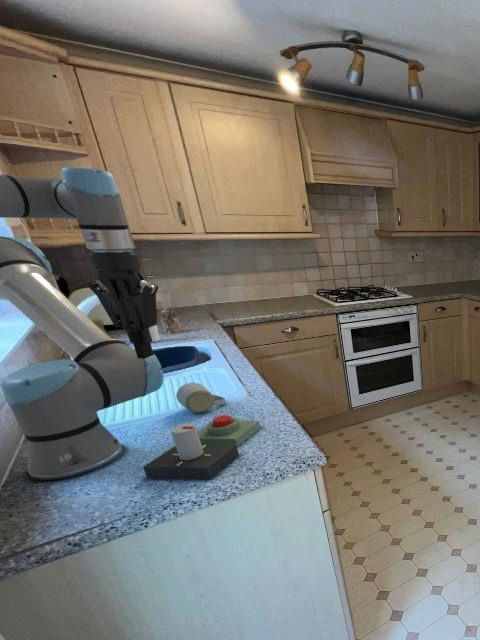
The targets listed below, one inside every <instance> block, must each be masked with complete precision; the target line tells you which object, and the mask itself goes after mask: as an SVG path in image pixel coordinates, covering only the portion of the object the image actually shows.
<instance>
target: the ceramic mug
mask: <svg viewBox="0 0 480 640" xmlns="http://www.w3.org/2000/svg"><path fill="white" fill-rule="evenodd" d="M176 400H177V402H178V403H179V404H180V405H181V406H182V407H184V408H185V409H186V410H187V411H189V412H192V413H195V414H203V413H205V412H207V411H209V410H210V409H212V407H213V406H223V405H225V404H226V398H225V397H223V396H221V395H216V394H212V392H211V391H210V390H209V389H207V387H206V386H204V385H203V384H201V383H199V382H187V383H184V384H182V385H181V386H180V387H179V388H178V389H177V391H176Z"/></svg>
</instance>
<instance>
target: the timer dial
mask: <svg viewBox="0 0 480 640" xmlns="http://www.w3.org/2000/svg"><path fill="white" fill-rule="evenodd" d="M170 433H171V437H172V439H173V442H174V446H176V448H177V451H178V454H179V457H180V459H181V460H191V459H194V458H197V457H199V456H201V455H202V454H203V453H204V451H203V448H202V445H201V442H200V439H199V435H198V428H197V426H196V424H195V423H182V424H180V425H176V426H174V427H173V428H171V429H170Z"/></svg>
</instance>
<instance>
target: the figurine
mask: <svg viewBox="0 0 480 640" xmlns="http://www.w3.org/2000/svg"><path fill="white" fill-rule="evenodd" d="M160 313H161V318H160V320H162V326H163V327H162V328H163V333H164V334H165V335H169V334H170V335H172V334H173V335H175V334H179V333H182V332H183V329H182V326H181V323H180V322H179V320H178V318H176V313H175V312H174V311H173V307H169V308H167V307H165V308H163V309H162V310H161V311H160Z"/></svg>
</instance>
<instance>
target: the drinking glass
mask: <svg viewBox="0 0 480 640" xmlns="http://www.w3.org/2000/svg"><path fill="white" fill-rule="evenodd" d="M149 332H150V335H151V338H152V342H151V343H150V344H152V343H158V342H160V341H161V337H160V333H159V329H158V324H157V325H155V326H152V327H150V328H149Z"/></svg>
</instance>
